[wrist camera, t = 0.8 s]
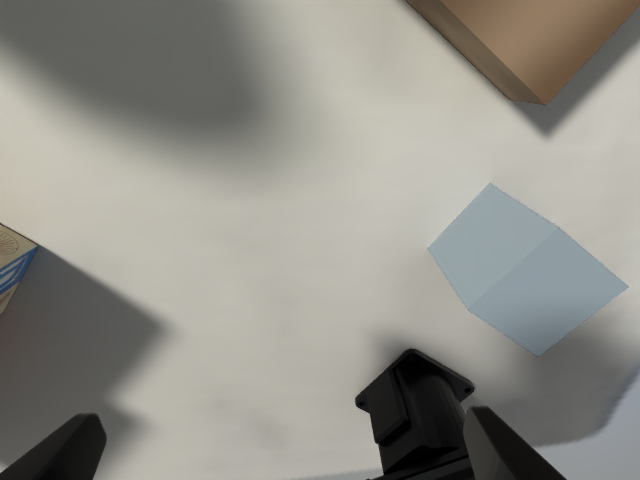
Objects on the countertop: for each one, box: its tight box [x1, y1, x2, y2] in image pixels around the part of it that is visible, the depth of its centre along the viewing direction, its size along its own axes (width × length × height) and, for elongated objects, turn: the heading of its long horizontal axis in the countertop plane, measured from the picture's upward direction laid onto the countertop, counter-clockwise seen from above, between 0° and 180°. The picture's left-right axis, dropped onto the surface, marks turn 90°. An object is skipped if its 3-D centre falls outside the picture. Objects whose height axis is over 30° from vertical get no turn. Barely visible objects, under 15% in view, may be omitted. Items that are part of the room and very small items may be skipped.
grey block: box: [427, 183, 629, 357], centre depth 18 cm, size 5×5×6 cm
